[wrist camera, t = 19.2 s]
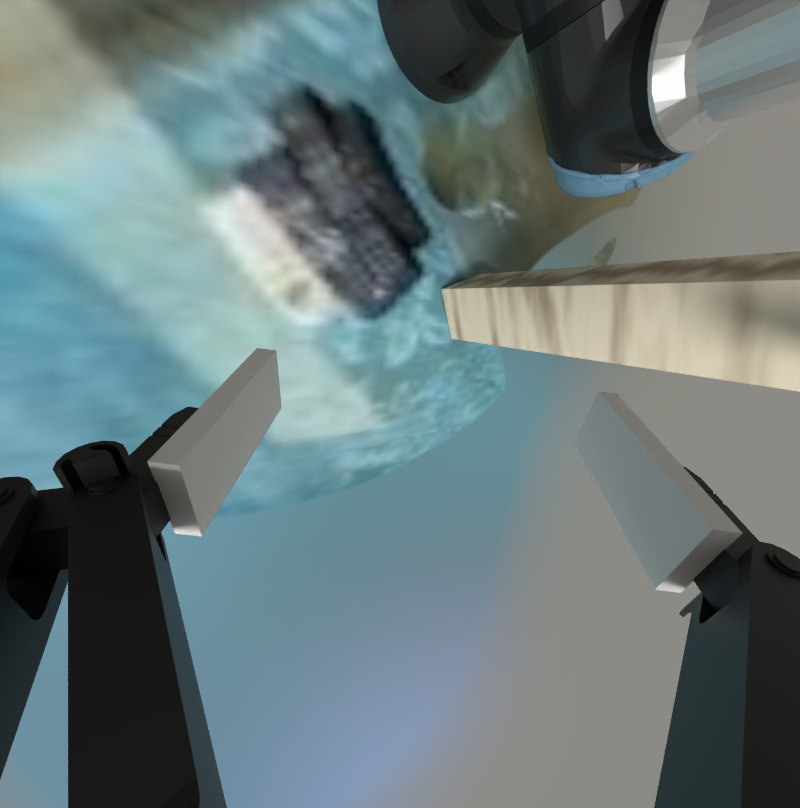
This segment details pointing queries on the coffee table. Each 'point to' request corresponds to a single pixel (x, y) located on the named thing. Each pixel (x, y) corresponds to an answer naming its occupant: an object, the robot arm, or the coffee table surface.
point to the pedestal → (647, 315)
